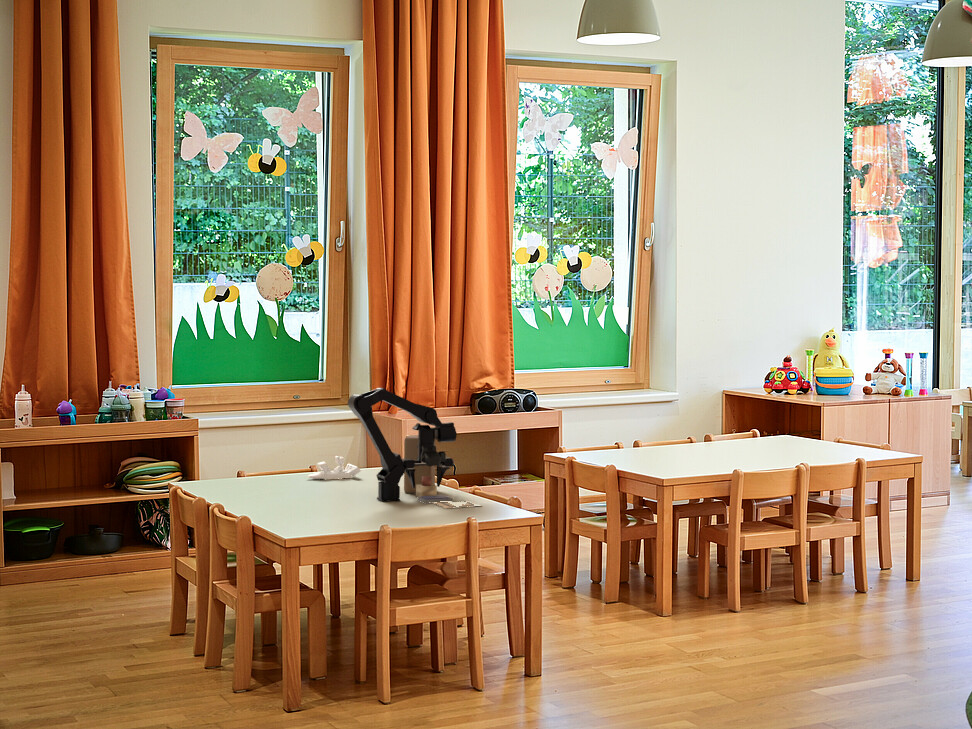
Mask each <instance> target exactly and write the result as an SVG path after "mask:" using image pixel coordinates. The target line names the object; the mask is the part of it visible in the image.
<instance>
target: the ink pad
mask: <svg viewBox="0 0 972 729" xmlns="http://www.w3.org/2000/svg"><path fill="white" fill-rule="evenodd" d="M418 500H419V501H418ZM417 501H418V502H420V501H421V503H422V502H424V503H423V504H425V503H427V504H430V503H429V502H440V501H453V498H452V497H450V496H447V495H445V494H437V495H434V496H420V497H418V498H417Z"/></svg>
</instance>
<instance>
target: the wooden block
mask: <svg viewBox="0 0 972 729" xmlns="http://www.w3.org/2000/svg"><path fill="white" fill-rule="evenodd" d="M417 445H418V434H410V435H408V436H406V437H405V438H404V440H403V447H404V448H403V449H404V451H403V453H404V454H403V459H408V458H410V459H413V460H414V461H415V460H417V457H418V448H417ZM424 462H425V461H424ZM421 463H422V462H421ZM413 469H416V470H415V488H413V487H412V485H411V482H410V480H409V477H408V475H407V473H406V471H405V472H404V474H403V491H404V493H406V492H407V493H406V494H416V484H422V476H431V484H433V485H436V466H431V467H430V466H427V465H421V466H414V467H413Z"/></svg>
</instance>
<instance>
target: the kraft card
mask: <svg viewBox="0 0 972 729" xmlns="http://www.w3.org/2000/svg"><path fill="white" fill-rule="evenodd" d="M455 501H456V502H457V501H458V502H459V501H460V502H461V501H462V500H455ZM463 501H464V502H466V501H467V500H463ZM472 503H475V502H474V501H472ZM472 503H470V502H467V503H466V504H465V505H464V504H462V506H459V507H467V506H468V507H469V506H474V504H472ZM435 504H437V505H436V506H438V505H440V506H442V507H441V508H443V507H445V508H453V507H456V506H454V505H452V504H450V503H448V502H437V503H435ZM435 504H434V505H435ZM440 506H439V507H440ZM445 508H444V509H445ZM469 508H470V507H469Z"/></svg>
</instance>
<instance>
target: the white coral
mask: <svg viewBox="0 0 972 729" xmlns="http://www.w3.org/2000/svg"><path fill="white" fill-rule="evenodd" d="M334 461H335V463H336V464H338V465H337V466H336V467H334V468H333V470H331V469H330V466H329V465H328V463H326V461H321V462H317V464H316V465H317V466H318V467H319V469H320V470H322V471H319V472H316V473H312V474H308V475H307V476H306V477H307V478H308V479H312V480H320V479H338V478H339V480H342V479H341V478H351V479H352V477H355V476H356V475H357V474H359V473H361V472H362V470H361V468H360V467H358V466H356V465H354V464H351V463H347V465H346V466H344V464H345V461H346V459H345V457H343V456H338V455H335V459H334ZM344 467H345V468H344Z"/></svg>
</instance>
